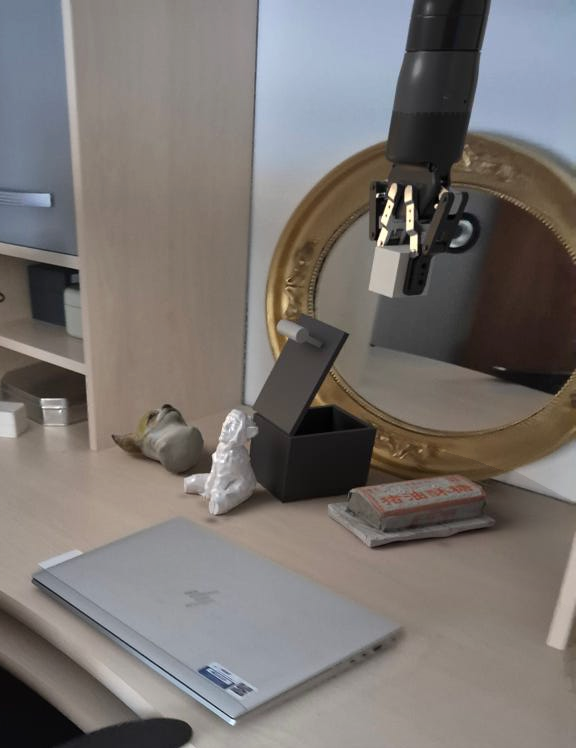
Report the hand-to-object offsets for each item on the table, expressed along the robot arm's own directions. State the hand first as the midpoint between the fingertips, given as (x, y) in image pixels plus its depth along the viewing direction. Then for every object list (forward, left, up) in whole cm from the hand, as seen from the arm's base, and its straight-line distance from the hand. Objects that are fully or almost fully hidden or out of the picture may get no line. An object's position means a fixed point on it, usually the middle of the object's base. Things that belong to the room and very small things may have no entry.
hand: (398, 289), depth 93 cm
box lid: (+4, -11, -12) cm, 17 cm away
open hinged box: (+1, -11, -27) cm, 30 cm away
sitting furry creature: (+14, -10, -28) cm, 32 cm away
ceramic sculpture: (+17, -25, -28) cm, 41 cm away
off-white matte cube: (0, 0, 0) cm, 0 cm away
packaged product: (-5, +4, -28) cm, 28 cm away
